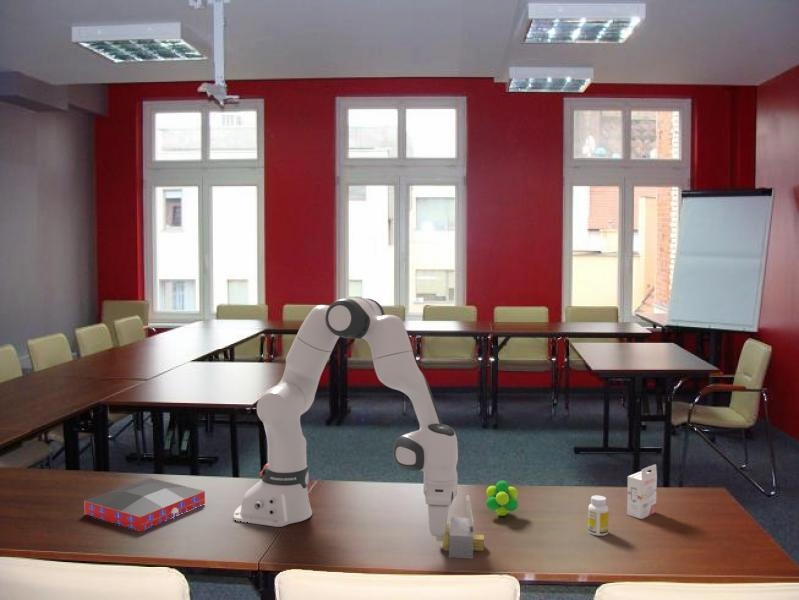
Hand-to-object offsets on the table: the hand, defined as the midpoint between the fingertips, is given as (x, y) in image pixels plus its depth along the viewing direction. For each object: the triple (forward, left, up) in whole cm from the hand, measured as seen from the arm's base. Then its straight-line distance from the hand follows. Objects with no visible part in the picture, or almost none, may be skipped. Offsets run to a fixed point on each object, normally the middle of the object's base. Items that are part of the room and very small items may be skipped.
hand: (439, 539), depth 186 cm
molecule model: (+17, +24, -2) cm, 29 cm away
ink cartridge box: (+58, +31, -2) cm, 66 cm away
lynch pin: (+6, 0, -2) cm, 6 cm away
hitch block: (+6, 0, -2) cm, 6 cm away
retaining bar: (+8, 0, +4) cm, 9 cm away
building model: (-87, +14, -3) cm, 89 cm away
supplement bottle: (+43, +15, -2) cm, 45 cm away
